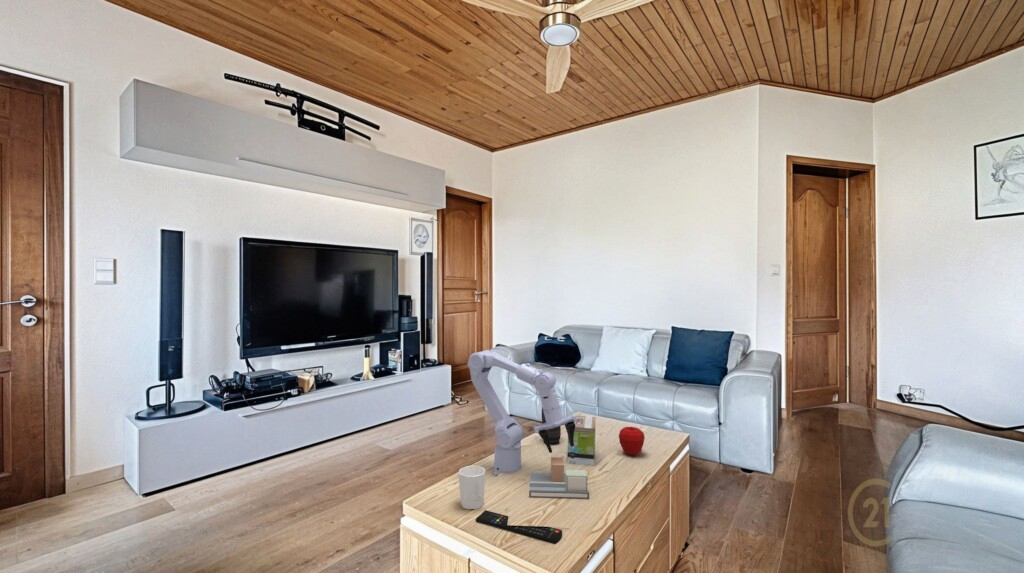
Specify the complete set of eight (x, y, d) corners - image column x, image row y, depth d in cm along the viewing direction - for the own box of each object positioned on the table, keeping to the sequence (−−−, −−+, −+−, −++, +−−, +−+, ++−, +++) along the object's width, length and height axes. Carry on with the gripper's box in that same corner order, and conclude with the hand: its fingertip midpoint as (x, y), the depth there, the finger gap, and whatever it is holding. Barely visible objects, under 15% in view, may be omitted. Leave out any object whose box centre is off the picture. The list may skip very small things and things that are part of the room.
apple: (647, 459, 164) (647, 430, 164) (622, 458, 165) (622, 430, 165) (640, 449, 174) (640, 422, 174) (616, 449, 174) (616, 422, 174)
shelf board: (529, 501, 132) (529, 491, 132) (530, 475, 150) (530, 467, 150) (589, 503, 131) (589, 493, 131) (583, 476, 149) (583, 468, 149)
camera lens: (537, 443, 181) (537, 407, 181) (547, 437, 188) (547, 403, 188) (554, 447, 177) (554, 410, 177) (564, 441, 183) (564, 405, 183)
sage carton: (566, 495, 133) (566, 475, 133) (565, 489, 137) (565, 470, 137) (587, 495, 133) (587, 476, 133) (586, 489, 137) (586, 470, 137)
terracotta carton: (564, 483, 141) (564, 465, 141) (551, 483, 141) (551, 464, 141) (563, 475, 147) (563, 457, 147) (551, 474, 148) (550, 457, 148)
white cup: (474, 513, 125) (474, 478, 125) (453, 506, 129) (453, 472, 129) (490, 502, 131) (490, 469, 131) (469, 495, 135) (469, 463, 136)
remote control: (485, 514, 125) (485, 510, 125) (564, 536, 114) (564, 530, 114) (475, 523, 120) (475, 518, 120) (557, 546, 109) (557, 541, 110)
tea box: (595, 469, 155) (595, 427, 155) (566, 466, 157) (566, 426, 157) (595, 453, 170) (595, 415, 170) (569, 451, 172) (569, 414, 172)
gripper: (533, 415, 141) (543, 457, 140) (575, 404, 144) (585, 445, 143) (529, 412, 148) (538, 453, 147) (568, 401, 151) (578, 441, 150)
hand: (561, 449), depth 145 cm, fingers open, 7 cm apart
